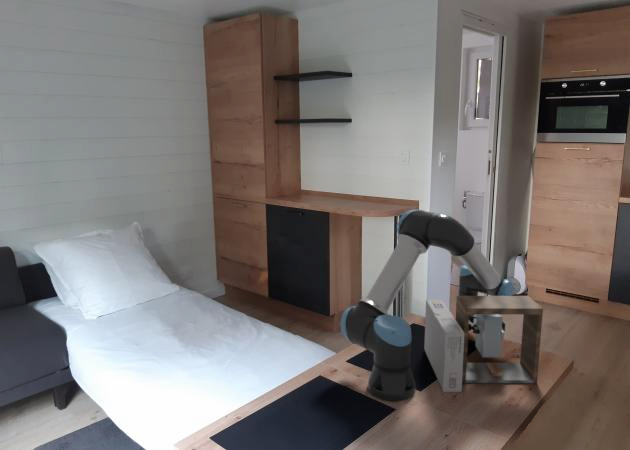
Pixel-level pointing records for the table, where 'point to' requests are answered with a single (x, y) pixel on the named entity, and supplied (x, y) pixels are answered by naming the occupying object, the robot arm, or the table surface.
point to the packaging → (444, 345)
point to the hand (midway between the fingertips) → (493, 336)
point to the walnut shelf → (529, 346)
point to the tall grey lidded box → (489, 335)
